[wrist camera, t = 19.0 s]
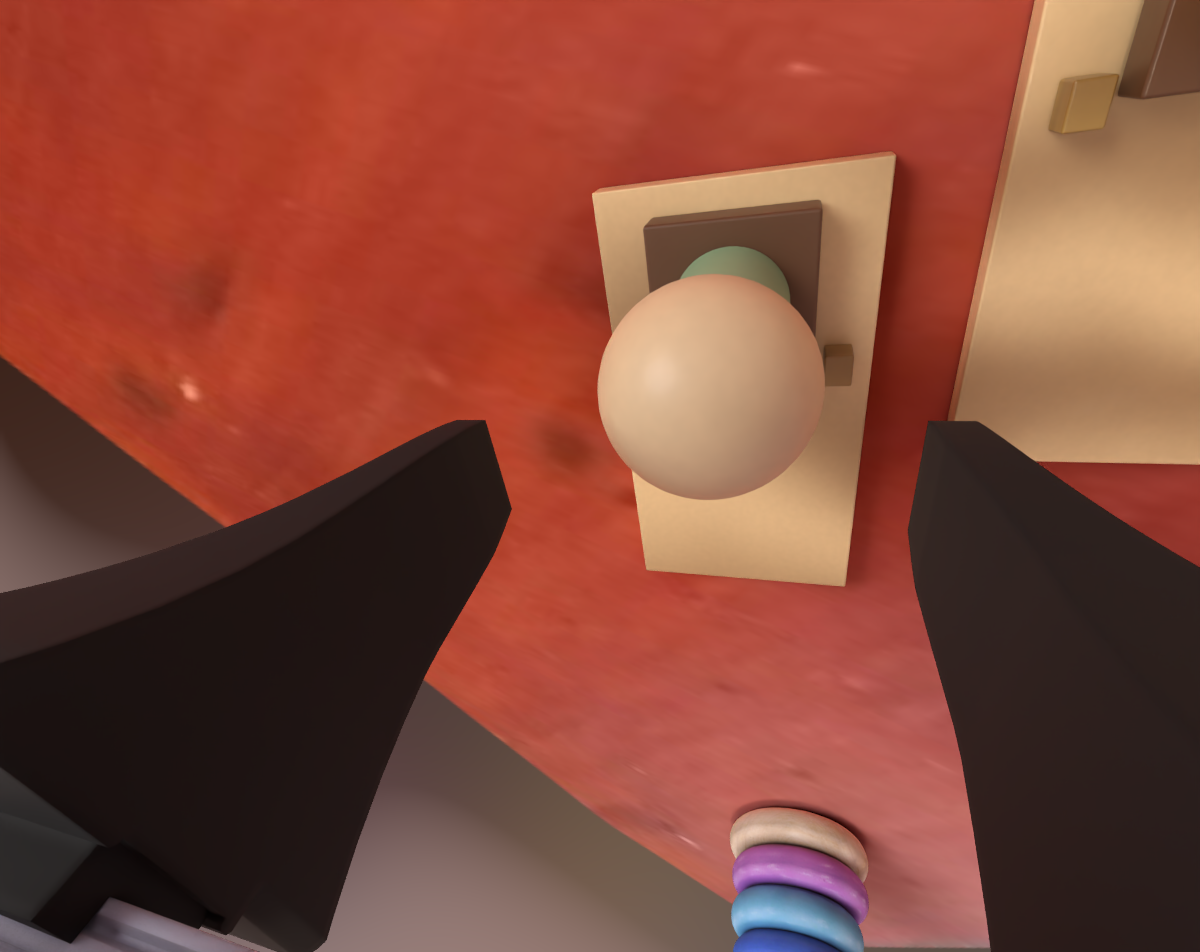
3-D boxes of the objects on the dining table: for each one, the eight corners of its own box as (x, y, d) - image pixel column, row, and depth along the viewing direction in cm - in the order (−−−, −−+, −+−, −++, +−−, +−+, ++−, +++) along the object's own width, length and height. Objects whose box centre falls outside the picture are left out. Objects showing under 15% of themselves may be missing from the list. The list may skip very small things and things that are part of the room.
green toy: (821, 554, 11) (840, 315, 8) (590, 538, 12) (546, 330, 10) (812, 361, 18) (821, 198, 15) (664, 365, 19) (650, 217, 17)
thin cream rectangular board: (844, 572, 23) (846, 604, 22) (649, 558, 26) (641, 585, 24) (892, 150, 15) (901, 159, 14) (598, 188, 17) (582, 199, 16)
